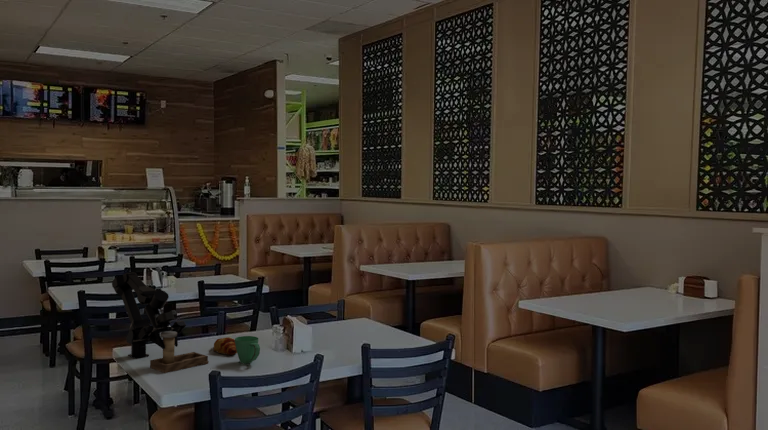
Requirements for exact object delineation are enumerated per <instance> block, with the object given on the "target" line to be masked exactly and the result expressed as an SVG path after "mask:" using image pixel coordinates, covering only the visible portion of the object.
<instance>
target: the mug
mask: <svg viewBox="0 0 768 430" xmlns="http://www.w3.org/2000/svg"><path fill="white" fill-rule="evenodd" d="M234 340H235V345H236V350H237V353H236V354H237V357H238V360H239V363H240V364H245V365H246V364H251V363H253V362H255V361H256V360H257V359H258V357H259V355H260V353H261V352H260V351H261V347H260V344H259V337H257V336H253V335H242V336H238V337H235V338H234Z"/></svg>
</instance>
